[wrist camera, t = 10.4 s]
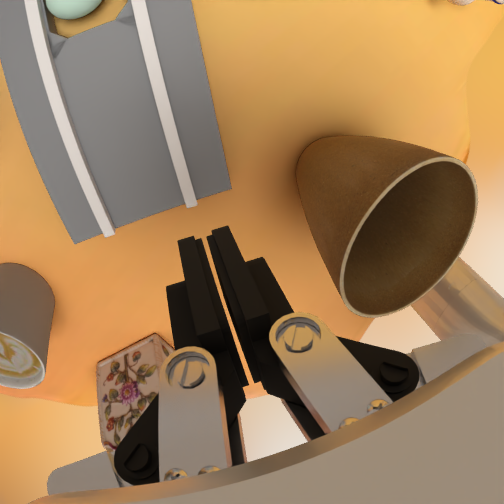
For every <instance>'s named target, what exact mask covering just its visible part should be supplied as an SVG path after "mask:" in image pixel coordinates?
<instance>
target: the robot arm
mask: <svg viewBox="0 0 504 504" xmlns="http://www.w3.org/2000/svg"><path fill="white" fill-rule="evenodd" d="M207 240H208V244H209V248H210V251H211V255H212V258H213V262H214V265H215V268H216V272H217V275H218V279H219V282H220V286H221V289H222V292H223V296H224V299H225V302H226V305H227V308H228V311H229V314H230V317H231V319H232V322H233V325H234V328H235V331H236V334H237V336H238V339H239V342H240V345H241V348H242V351H243V353H244V356H245V359H246V362H247V364H248V367H249V370H250V372H251V375H252V378H253V381H254V383H257V382H260V381H261V383H262V385H263V388H264V390H266V391H267V393H268V394H270V395H273V396H276V397H279V398H281V401H282V403H283V404H284V406H285V407H286V409H287V411H288V412H289V414H290V415H291V417H292V418H293V420H294V421H295V423H296V424H297V426H298V427H299V429H300V430H301V432H302V433H303V435H304V436H305V438H306V439H307V441H308V442H307V443H304V444H301V445H299V446H296V447H293V448H290V449H288V450H285V451H282V452H279V453H276V454H273V455H270V456H267V457H264V458H261V459H258V460H254V461H251V462H248V463H247V457H246V451H245V445H244V438H243V432H242V426H241V418H240V414H239V411H240V410H241V408H242V407H243V405H244V403H245V402H246V398H245V393H244V390H243V387H244V386H248V385H249V383H248V380H247V378H246V375H245V372H244V369H243V366H242V363H241V360H240V357H239V354H238V351H237V348H236V345H235V342H234V339H233V335H232V332H231V329H230V326H229V323H228V320H227V317H226V314H225V311H224V308H223V305H222V302H221V299H220V296H219V293H218V290H217V287H216V284H215V280H214V277H213V274H212V271H211V268H210V265H209V261H208V258H207V255H206V252H205V249H204V245H203V242H202V239H201V238H200V239H197V240H195V238H194V236H191V237H188V238H185V239H181V240H178V246H179V251H180V257H181V262H182V267H183V272H184V277H185V281H182V282H179V283H176V284H172V285H169V286H167V287H166V292H167V300H168V307H169V314H170V321H171V328H172V334H173V340H174V346H175V351H174V352H173V353H171V354H170V355H169V356H168V357H167V358H166V359H165V360H164V362H163V364H162V365H161V369H160V373H159V392H158V394H157V395H156V396H155V398H154V399H153V400H152V402H151V403H150V404H149V406H148V407H147V408H146V410H145V411H144V412H143V413H142V415H141V416H140V417H139V419H138V420H137V421H136V423H135V424H134V425H133V426H132V428H131V429H130V430H129V432H128V433H127V434H126V436H125V437H124V438H123V439H122V441H121V442H120V443H119V445H118V447H117V448H116V450H115V451H112V452H110V453H109V452H108V451H104V452H102V453H99V454H96V455H94V456H91V457H88V458H86V459H83V460H80V461H77V462H75V463H72V464H69V465H66V466H63V467H60V468H57V469H56V470H54V471H53V472H52V473H51V474H50V476H49V478H48V482H47V489H48V494H49V496H45V497H42V498H39V499H36V500H34V501H32V502H30V503H28V504H504V298H503V297H501V296H500V295H499V294H498V293H497V292H496V291H495V290H494V289H493V288H492V287H491V286H490V285H489V284H488V283H487V282H486V281H484V280H483V279H482V278H481V277H480V276H479V275H478V274H477V273H476V272H475V271H474V270H473V269H472V268H471V267H470V266H469V265H467V264H466V263H465V262H464V261H463V260H462V259H461V258H460V257H458V259H457V260H456V261H455V263H454V264H453V266H452V267H451V268H450V270H449V271H448V272H447V273H446V275H445V276H444V277H443V278H442V279H441V280H440V281H439V282H438V283H437V284H436V285H435V286H434V287H433V288H432V289H431V290H430V291H429V292H427V293H426V294H425V295H424V296H422V297H421V298H420V299H418V300H417V301H416V302H414V303H413V304H411V306H412V307H413V309H414V310H415V311H416V312H417V313H418V314H419V315H420V317H421V318H422V319H423V320H424V321H425V322H426V324H427V325H428V326H429V327H430V328H431V329H432V331H433V332H434V333H435V334H436V335H437V336H438V338H439V339H440V340H441V341H440V342H436V343H433V344H430V345H426V346H422V347H419V348H416V349H413V350H412V352H411V353H408V354H404V353H401V352H398V351H394V350H390V349H386V348H381V347H377V346H373V345H369V344H364V343H361V342H357V341H353V340H349V339H345V338H341V337H338V336H335V335H334V334H333V333H332V332H331V330H330V329H329V328H328V327H327V326H326V325H325V324H324V322H323V321H322V320H320V319H319V318H318V317H317V316H314V315H312V314H309V313H303V312H298V313H294V311H293V309H292V308H291V306H290V304H289V302H288V300H287V299H286V297H285V295H284V293H283V291H282V290H281V288H280V286H279V284H278V282H277V281H276V279H275V277H274V275H273V273H272V272H271V270H270V268H269V266H268V264H267V263H266V261H265V259H264V258H263V257H260V258H257V259H254V260H250V261H247V262H245V261H244V259H243V257H242V255H241V252H240V250H239V248H238V246H237V244H236V242H235V240H234V237H233V235H232V233H231V231H230V229H229V227H228V226H225V227H221V228H218V229H214V230H212V235H210V236H207Z"/></svg>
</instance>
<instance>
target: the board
mask: <svg viewBox="0 0 504 504" xmlns="http://www.w3.org/2000/svg"><path fill="white" fill-rule="evenodd" d="M0 60H1V64H2V67H3V71H4V75H5V79H6V82H7V86H8V89H9V92H10V95H11V99H12V102H13V105H14V108H15V111H16V114H17V117H18V120H19V123H20V125H21V128H22V131H23V133H24V136H25V139H26V141H27V144H28V147H29V149H30V152H31V154H32V156H33V159H34V161H35V164H36V166H37V168H38V171H39V173H40V175H41V178H42V180H43V182H44V184H45V186H46V189H47V191H48V193H49V195H50V197H51V199H52V201H53V203H54V205H55V208H56V210H57V212H58V214H59V216H60V218H61V220H62V221H63V223H64V225H65V227H66V229H67V231H68V233H69V235H70V237H71V239H72V240H73V242H74V244H77V243H79V242H82V241H84V240H87V239H90V238H92V237H95V236H97V235H100V234H102V233H103V234H104V236H105V238H106V237H109V236H111V235H114V234H115V228H118V227H121V226H123V225H126V224H129V223H132V222H134V221H137V220H140V219H143V218H145V217H148V216H151V215H154V214H157V213H160V212H162V211H165V210H168V209H171V208H174V207H177V206H180V205H183V204H186V207H187V208H190V207H193V206H196V205H198V204H197V201H196V200H198V199H201V198H204V197H207V196H210V195H213V194H217V193H220V192H223V191H226V190H229V189H232V188H231V183H230V179H229V174H228V169H227V165H226V160H225V156H224V151H223V147H222V142H221V138H220V133H219V128H218V124H217V119H216V115H215V110H214V105H213V101H212V96H211V91H210V87H209V82H208V78H207V73H206V68H205V64H204V59H203V54H202V50H201V45H200V40H199V35H198V31H197V26H196V21H195V17H194V12H193V7H192V2H191V0H128V2H127V3H126V5H125V6H124V8H123V9H122V10H121V12H120V13H119V15H118V16H117V18H116V19H115V20H114V21H111V22H108V23H105V24H102V25H100V26H97V27H94V28H92V29H89V30H87V31H84V32H82V33H79V34H77V35H75V36H72V37H70V38H67V37H64V36H62V35H59V34H57V31H56V26H55V22H54V17H53V14H52V13H51V12H50V11H49V10H48V8H47V5H46V0H0Z"/></svg>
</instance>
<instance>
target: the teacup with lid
mask: <svg viewBox="0 0 504 504" xmlns="http://www.w3.org/2000/svg"><path fill="white" fill-rule="evenodd" d="M448 1H449V2H451V3H453V4H456V5H467V4H470V3H471V2H473V1H474V0H448ZM487 1H493V2H495V3H497V4H504V0H487Z"/></svg>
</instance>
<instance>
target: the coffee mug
mask: <svg viewBox="0 0 504 504" xmlns="http://www.w3.org/2000/svg"><path fill="white" fill-rule="evenodd" d="M54 306H55V300H54V295H53V292H52V290H51V288H50V286H49V285H48V283H47V282H46V281H45V280H44V278H43V277H41V276H40V275H39V274H38V273H37V272H35V271H34V270H32V269H30V268H28V267H26V266H24V265H20V264H16V263H3V264H0V385H2V386H6V387H10V388H17V389H25V388H31V387H34V386H37V385H38V384H40V383H41V382H42V381H43V379H44V377H45V372H46V363H47V354H48V345H49V338H50V331H51V324H52V318H53V312H54Z"/></svg>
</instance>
